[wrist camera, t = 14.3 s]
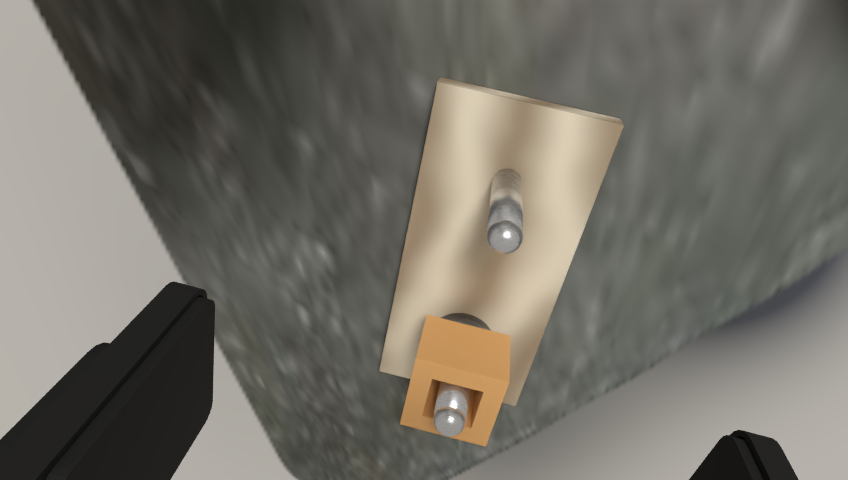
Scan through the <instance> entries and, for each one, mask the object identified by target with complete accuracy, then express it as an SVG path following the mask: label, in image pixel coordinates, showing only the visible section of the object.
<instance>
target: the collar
mask: <svg viewBox="0 0 848 480" xmlns="http://www.w3.org/2000/svg"><path fill="white" fill-rule="evenodd" d="M509 379H510V335H506V334H502V333H498V332H494V331H490V330H486V329H482V328H478V327H474V326H470V325H466V324H462V323H458V322H454V321H450V320H446V319H443V318H439V317H435V316H431V315H427V316H426V320H425V324H424V328H423V332H422V336H421V340H420V344H419V348H418V352H417V356H416V360H415V364H414V368H413V372H412V376H411V380H410V384H409V388H408V392H407V396H406V401H405V405H404V409H403V413H402V417H401V421H400V424H401V425H405V426H409V427H412V428H416V429H420V430H424V431H428V432H432V433H435V434H439V435H442V434H441V433H439V432H438V431H437V429H436V428H435V426H434V422H433V416H434V411H435V405H436V400H437V394H438V389H439V383H440V381H442V382H446V383H450V384H454V385H458V386H462V387H466V388H469V389H470V390H469V400H468V409H467V418H466V424H465V427H464V429H463V430H462V432H461V433H459V434H458V435H456V436H452V437H451V438H455V439H458V440H462V441H466V442H470V443H474V444H478V445H481V446H485V447H486V445H487V442H488V439H489V436H490V434H491V431H492V428H493V426H494V423H495V420H496V417H497V415H498V412H499V409H500V407H501V404H502V401H503V398H504V396H505V393H506V390H507V388H508V385H509ZM443 436H444V435H443ZM447 437H448V436H447Z"/></svg>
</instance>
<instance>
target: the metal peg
mask: <svg viewBox="0 0 848 480" xmlns="http://www.w3.org/2000/svg"><path fill="white" fill-rule="evenodd" d="M441 318H443V319H446V320H450V321H454V322H458V323H462V324H466V325H470V326H474V327H478V328H482V329H486V330H490V328H489V327H488V325H487V324H486V323H485V322H483V321H482V320H481V319H479V318H477V317H475V316H473V315H470V314H465V313H452V314H448V315H445V316H443V317H441ZM490 331H491V330H490ZM469 390H470V389H469V388H466V387H462V386H458V385H454V384H450V383H446V382H442V381H440V383H439V389H438V394H437V400H436V405H435V411H434V416H433V422H434V426H435V428H436V429H437V431H438V432H439V433H441V434H442V435H444V436H448V437H452V436H456V435H458V434H459V433H461V432H462V430H463V429H464V427H465V424H466V418H467V409H468V400H469Z"/></svg>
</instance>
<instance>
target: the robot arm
mask: <svg viewBox="0 0 848 480" xmlns="http://www.w3.org/2000/svg"><path fill="white" fill-rule="evenodd" d="M214 324H215V303H214V301H213V300H210V299H207V293H206V291H205V290H203V289H200V288H196V287H193V286H189V285H185V284H181V283H177V282H170V283H169V284H168V285H166V286H165V287H164V288H163V289H162V291H160V292H159V294H158V295H157V296H156V297H155V298H154V299H153V300H152V301H151V302H150V303H149V304H148V305H147V306H146V307H145V308H144V309H143V310H142V311H141V312H140V313H139V314H138V315H137V316H136V317H135V318H134V319H133V320H132V321H131V322H130V324H129V325H128V326H127V327H126V328H125V329H124V330H123V331H122V332H121V333H120V334H119V335H118V336H117V337H116V338H115V339H114V340H113V341H112V342H111V343H101V344H99V345H96V346H95V347H94V348H93V349H91V350H90V351H89V352H87V354H86V355H84V357H83V358H82V359H81V360H79V362H78V363H77V364H75V366H74V367H73V368H72V369H71V370H70V371H69V372H68V373H67V374H66V375H64V377H63V378H62V379H61V380H60V381H59V382H58V383H57V384H56V385H55V386H54V387H53V388H52V389H51V390H50V391H49V392H48V393H47V394H46V395H45V396H44V397H43V398H42V399H41V400H40V401H39V402H38V403H37V404H36V405H35V406H34V407H33V408H32V409H31V410H30V411H29V412H28V413H27V414H26V415H25V416H24V417H23V418H22V419H21V420H20V421H19V422H18V423H17V424H16V425H15V426H14V427H13V428H12V429H11V430H10V431H9V432H8V433H7V434H6V435H5V436H4V437H3V438H2V439H1V440H0V480H170V479H171V478H172V476H173V474H174V473H175V471H176V470H177V468H178V466H179V465H180V463H181V461H182V460H183V458H184V457H185V455H186V453H187V452H188V450H189V448H190V447H191V445H192V443H193V442H194V440H195V439H196V437H197V435H198V434H199V432H200V430H201V429H202V427H203V425H204V424H205V422H206V420H207V418H208V416H209V414H210V410H211V407H212V401H213V364H214V362H213V361H214ZM689 480H798V478H797V476H796V474H795V472H794V470H793V469H792V467H791V465H790V463H789V461H788V460H787V457H786V456H785V454H784V452H783V450H782V448H781V447H780V445H779V444H778V442H777V441H775V440H774V439H772V438H769V437H765V436H761V435H757V434H753V433H750V432H746V431H741V430H737V431H734V432H733V433H732V434H731V435H729V436H728V435H726V436H723V437H722V438H721V439H720V440H719V441H718V443H717V444H716V445H715V447H714V448H713V449H712V450H711V452H710V453H709V454H708V456H707V457H706V458H705V460H704V461H703V462H702V464H701V465H700V466H699V467H698V469H697V470H696V471H695V473H694V474H693V475H692V477H691V478H690V479H689Z"/></svg>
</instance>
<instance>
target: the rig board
mask: <svg viewBox="0 0 848 480" xmlns="http://www.w3.org/2000/svg"><path fill="white" fill-rule="evenodd" d="M623 126H624V124H623V123H622V121H621V120H620V119H619V118H615V117H610V116H606V115H602V114H597V113H593V112H589V111H584V110H580V109H576V108H571V107H567V106H563V105H559V104H554V103H550V102H546V101H541V100H537V99H533V98H528V97H524V96H520V95H516V94H511V93H507V92H503V91H498V90H494V89H490V88H485V87H481V86H477V85H472V84H468V83H464V82H460V81H455V80H451V79H447V78H442V77H440V79H439V80H438V82H437V87H436V92H435V97H434V102H433V107H432V112H431V117H430V122H429V127H428V132H427V137H426V142H425V147H424V152H423V156H422V161H421V166H420V171H419V176H418V181H417V186H416V191H415V196H414V201H413V206H412V211H411V216H410V221H409V226H408V231H407V236H406V241H405V246H404V251H403V256H402V261H401V266H400V271H399V276H398V280H397V285H396V290H395V295H394V300H393V305H392V310H391V315H390V320H389V325H388V330H387V335H386V340H385V345H384V350H383V355H382V360H381V365H380V370H379V371H381V372H385V373H389V374H392V375H396V376H400V377H404V378H408V379H411V376H412V372H413V368H414V364H415V360H416V356H417V352H418V348H419V344H420V340H421V336H422V332H423V328H424V324H425V320H426V316H427V315H431V316H435V317H439V318H441V317H443V316H445V315H448V314H452V313H465V314H470V315H473V316H475V317H477V318H479V319H481V320H482V321H483V322H485V323H486V324H487V325H488V327H489V328H490V330H491V331H494V332H498V333H502V334H506V335H510V379H509V385H508V388H507V390H506V393H505V396H504V398H503V401H502V403H505V404H509V405H513V406H516V403H517V401H518V398H519V396H520V393H521V390H522V388H523V385H524V383H525V380H526V378H527V375H528V372H529V370H530V367H531V365H532V362H533V359H534V357H535V354H536V352H537V349H538V346H539V344H540V341H541V339H542V336H543V334H544V331H545V328H546V326H547V323H548V321H549V318H550V315H551V313H552V310H553V308H554V305H555V302H556V300H557V297H558V295H559V292H560V290H561V287H562V284H563V282H564V279H565V277H566V274H567V271H568V269H569V266H570V264H571V261H572V258H573V256H574V253H575V251H576V248H577V246H578V243H579V240H580V238H581V235H582V233H583V230H584V227H585V225H586V222H587V220H588V217H589V214H590V212H591V209H592V207H593V204H594V202H595V199H596V196H597V194H598V191H599V189H600V186H601V183H602V181H603V178H604V176H605V173H606V170H607V168H608V165H609V163H610V160H611V158H612V155H613V152H614V150H615V147H616V145H617V142H618V139H619V137H620V134H621V132H622V129H623ZM506 168H508V169H513V170H515V171H517V172H518V173H519V174H520V176H521V179H522V206H523V241H522V244H521V246H520V247H519V248H518V249H517V250H516V251H515V252H513V253H511V254H506V255H503V254H499V253H496V252H495V251H493V250H492V249H491V248H490V247H489V245H488V243H487V238H486V234H487V225H488V216H489V207H490V198H491V188H492V180H493V177H494V175H495V174H496V173H497V172H498V171H499V170H502V169H506Z"/></svg>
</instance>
